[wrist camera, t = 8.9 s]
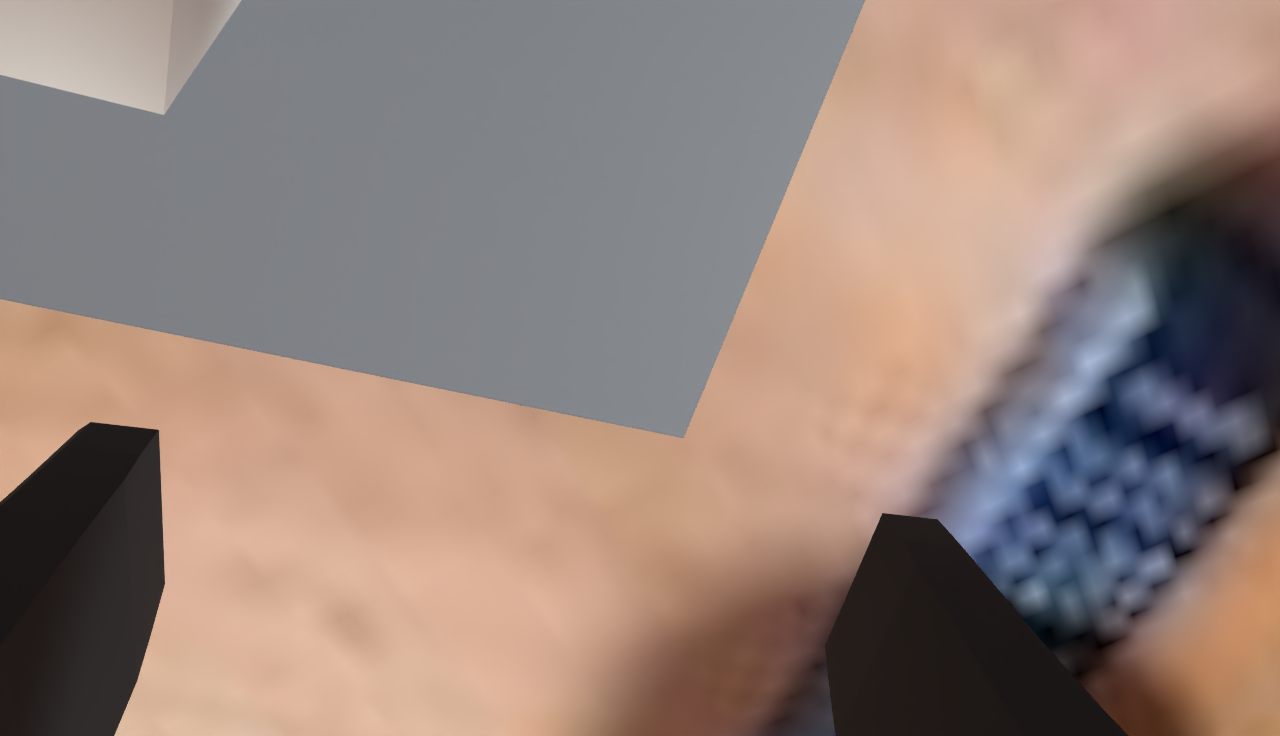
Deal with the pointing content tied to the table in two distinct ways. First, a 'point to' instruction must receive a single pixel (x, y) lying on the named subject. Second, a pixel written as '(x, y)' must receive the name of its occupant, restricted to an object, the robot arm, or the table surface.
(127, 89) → the carton
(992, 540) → the table surface
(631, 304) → the grey tray
